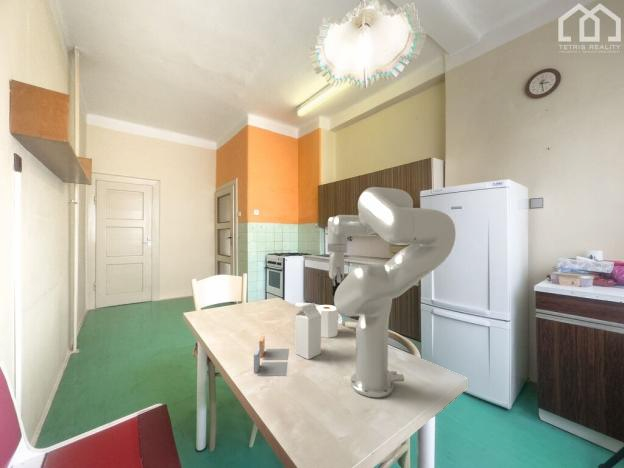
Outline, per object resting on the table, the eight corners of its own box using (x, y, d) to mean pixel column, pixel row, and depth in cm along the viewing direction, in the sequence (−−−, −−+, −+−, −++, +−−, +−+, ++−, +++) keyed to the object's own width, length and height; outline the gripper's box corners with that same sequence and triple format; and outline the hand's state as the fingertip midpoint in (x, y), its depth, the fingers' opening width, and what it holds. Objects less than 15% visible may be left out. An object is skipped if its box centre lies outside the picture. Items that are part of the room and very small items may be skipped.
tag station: (289, 349, 105) (289, 333, 105) (285, 376, 85) (285, 357, 85) (262, 349, 105) (262, 334, 105) (252, 376, 85) (252, 357, 85)
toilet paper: (311, 334, 121) (311, 308, 121) (323, 328, 129) (324, 303, 129) (329, 339, 114) (329, 312, 114) (341, 332, 123) (341, 307, 123)
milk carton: (320, 353, 101) (321, 304, 101) (308, 360, 96) (308, 308, 96) (307, 348, 106) (308, 301, 106) (294, 354, 101) (295, 304, 101)
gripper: (325, 247, 109) (325, 291, 109) (329, 249, 94) (328, 301, 94) (343, 247, 109) (343, 291, 109) (350, 250, 94) (349, 301, 94)
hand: (336, 296), depth 101 cm, fingers closed
